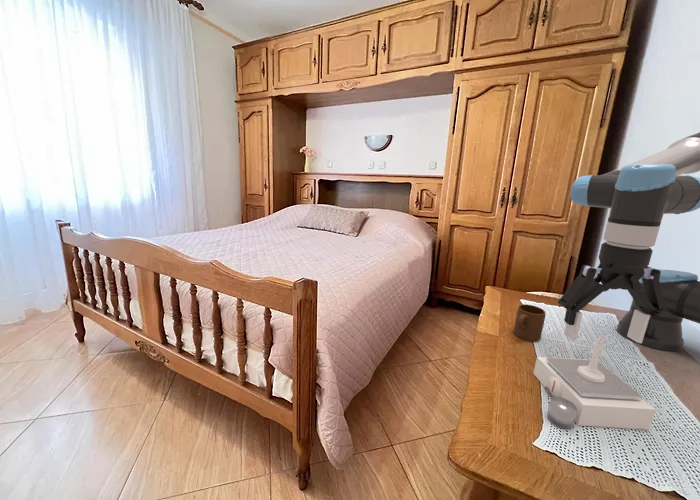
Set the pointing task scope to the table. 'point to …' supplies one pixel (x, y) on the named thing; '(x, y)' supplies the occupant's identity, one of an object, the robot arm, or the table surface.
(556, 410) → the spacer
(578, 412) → the scale
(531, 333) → the mug
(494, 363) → the table surface
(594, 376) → the chess piece
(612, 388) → the textured square plate
